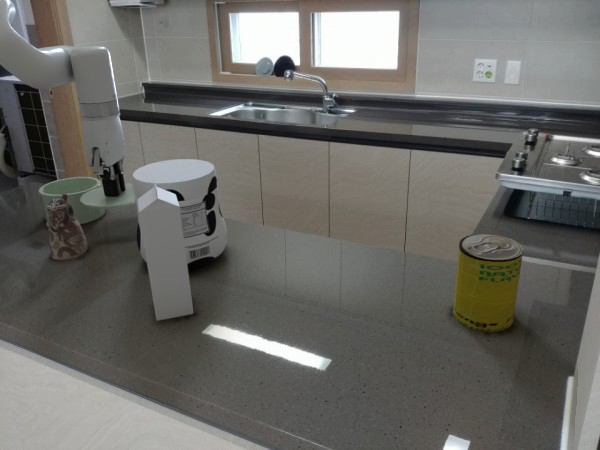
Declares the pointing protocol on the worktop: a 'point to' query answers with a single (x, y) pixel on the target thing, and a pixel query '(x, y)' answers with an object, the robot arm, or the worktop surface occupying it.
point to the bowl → (72, 196)
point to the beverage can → (487, 281)
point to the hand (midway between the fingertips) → (115, 192)
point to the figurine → (64, 230)
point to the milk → (165, 253)
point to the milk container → (188, 205)
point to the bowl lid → (100, 201)
